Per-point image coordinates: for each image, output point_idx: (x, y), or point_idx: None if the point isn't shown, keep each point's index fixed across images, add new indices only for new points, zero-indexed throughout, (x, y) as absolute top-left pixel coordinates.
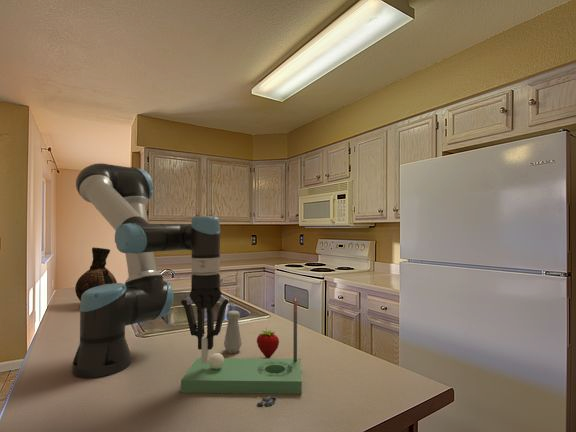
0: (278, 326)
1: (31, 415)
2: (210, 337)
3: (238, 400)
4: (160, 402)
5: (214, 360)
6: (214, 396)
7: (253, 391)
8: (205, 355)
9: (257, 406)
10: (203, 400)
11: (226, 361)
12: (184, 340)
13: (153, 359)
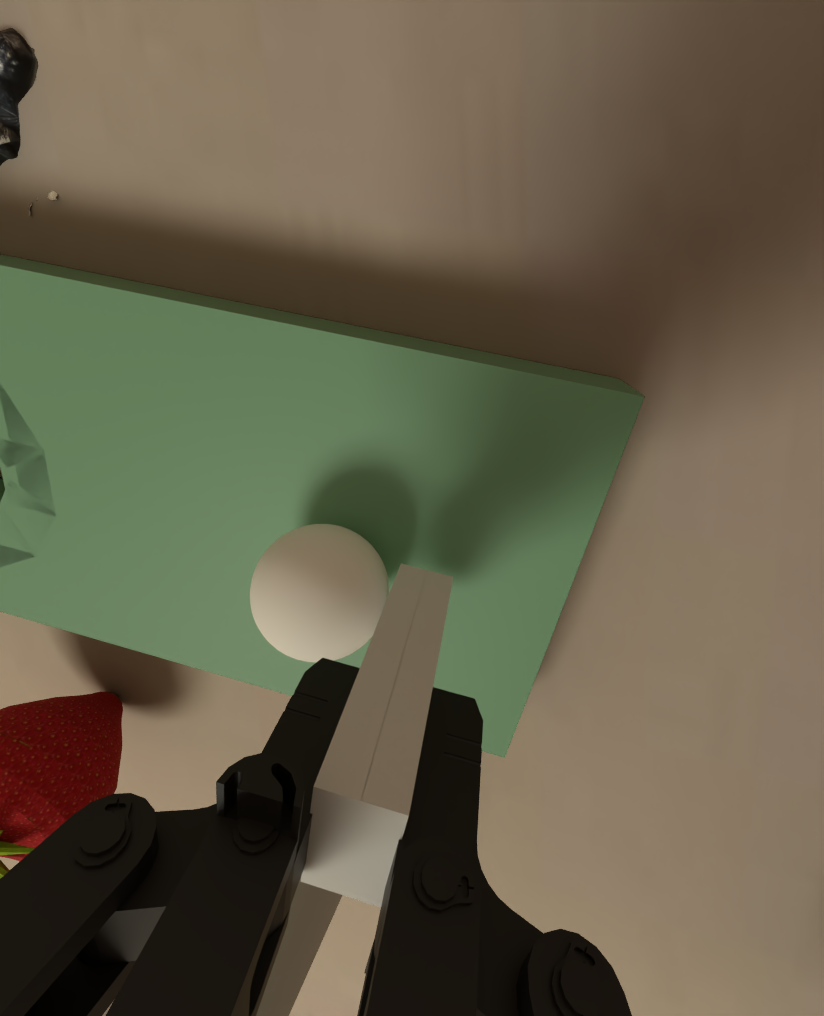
0: None
1: None
2: (231, 769)
3: (176, 171)
4: (808, 224)
5: (321, 555)
6: (357, 268)
7: (87, 272)
8: (400, 613)
9: (24, 42)
10: (435, 209)
11: None
12: None
13: (795, 878)
